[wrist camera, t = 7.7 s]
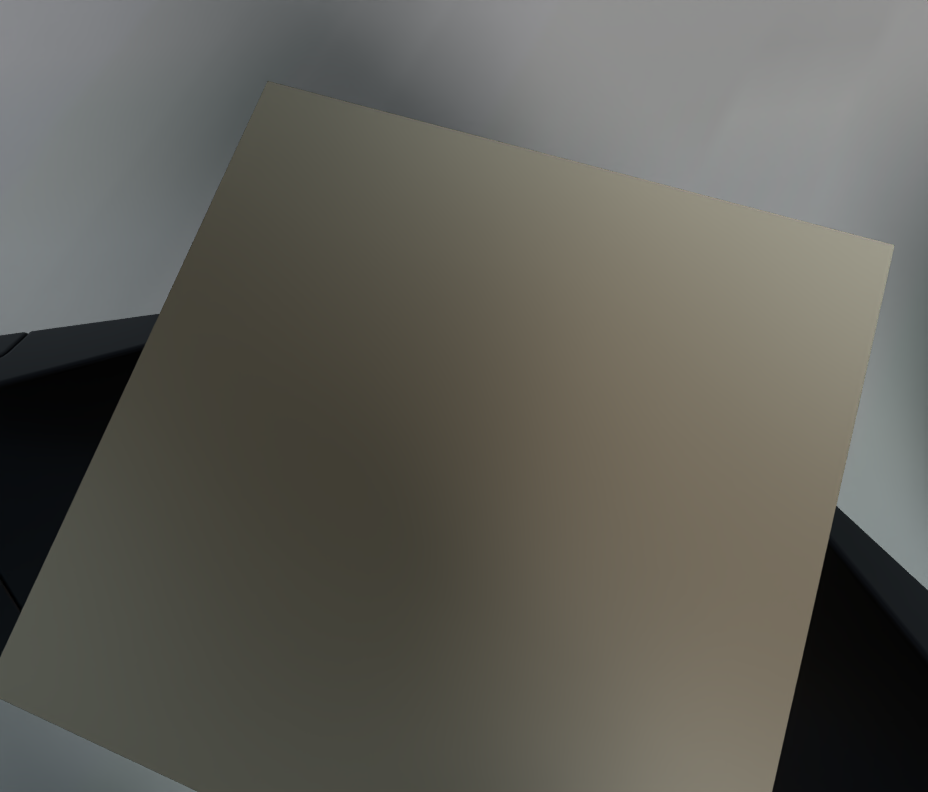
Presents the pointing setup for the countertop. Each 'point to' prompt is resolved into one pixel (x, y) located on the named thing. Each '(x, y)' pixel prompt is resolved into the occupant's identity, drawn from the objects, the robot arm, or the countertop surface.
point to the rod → (458, 477)
